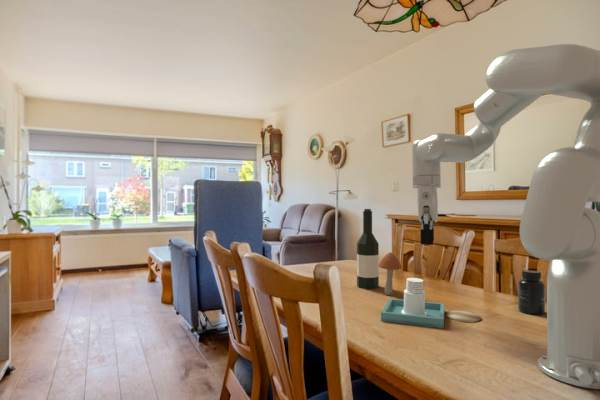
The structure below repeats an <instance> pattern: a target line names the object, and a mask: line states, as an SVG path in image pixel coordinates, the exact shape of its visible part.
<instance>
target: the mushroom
mask: <svg viewBox="0 0 600 400" xmlns="http://www.w3.org/2000/svg"><path fill="white" fill-rule="evenodd" d="M380 268H381V269H384V270H386V281H385V284H384V285H385V286H384V294H385V295H386V296H393V292H394V291H393V277H394V271H395V270H396V271H398V270H401V269H402V268H403V267H402V265H401V262H400V260H399V259H398V257H397V256H396V255H395V254H394V253H393V252H388V253H387V254H385V255H384V256H383V257H382V259H380V262H379V269H380Z"/></svg>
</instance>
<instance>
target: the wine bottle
mask: <svg viewBox="0 0 600 400" xmlns="http://www.w3.org/2000/svg"><path fill="white" fill-rule="evenodd" d="M362 216H363V217H362V218H363V219H362V221H363V222H362V226H363V228H362V229H363V230H362V234H361V236H360V237H359V239H358V240H357V242H356V287H358V288H359V289H363V290H364V289H365V290H374V289H378V288H379V287H380V286H379V285H380V284H379V280H380V279H379V275H380V274H379V270H380V267H379V263H380V262H379V257H380V256H379V251H380V250H379V242H378V240H377V239H376V237H375V236H374V233H373V211H372V209H371V208H364V209H363V211H362Z"/></svg>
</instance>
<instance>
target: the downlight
mask: <svg viewBox="0 0 600 400" xmlns="http://www.w3.org/2000/svg"><path fill="white" fill-rule="evenodd" d="M405 286H406V288H405V289H404V290H403V300H404V309H403V310H402V311H401V313H402V314H410V315H419V316H427V313H426V312H425V302H426V291H424V279H422V278H418V277H407V278H406V285H405Z"/></svg>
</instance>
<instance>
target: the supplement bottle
mask: <svg viewBox="0 0 600 400" xmlns="http://www.w3.org/2000/svg"><path fill="white" fill-rule="evenodd" d="M521 278H522V279H519V280H518V282H517V283H518V285H517V297H518V298H517V305H518V306H517V309H518V311H519V312H521V313H524V314H528V315H535V316H537V315H539V316H540V315H542V316H543V315H544V314H545V313H546V284H545V283H544V281H542V280H541V279H542V273H541V272H540V271H538V270H537V271H536V270H528V269H526V270H525V269H524V270H522V271H521Z"/></svg>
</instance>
